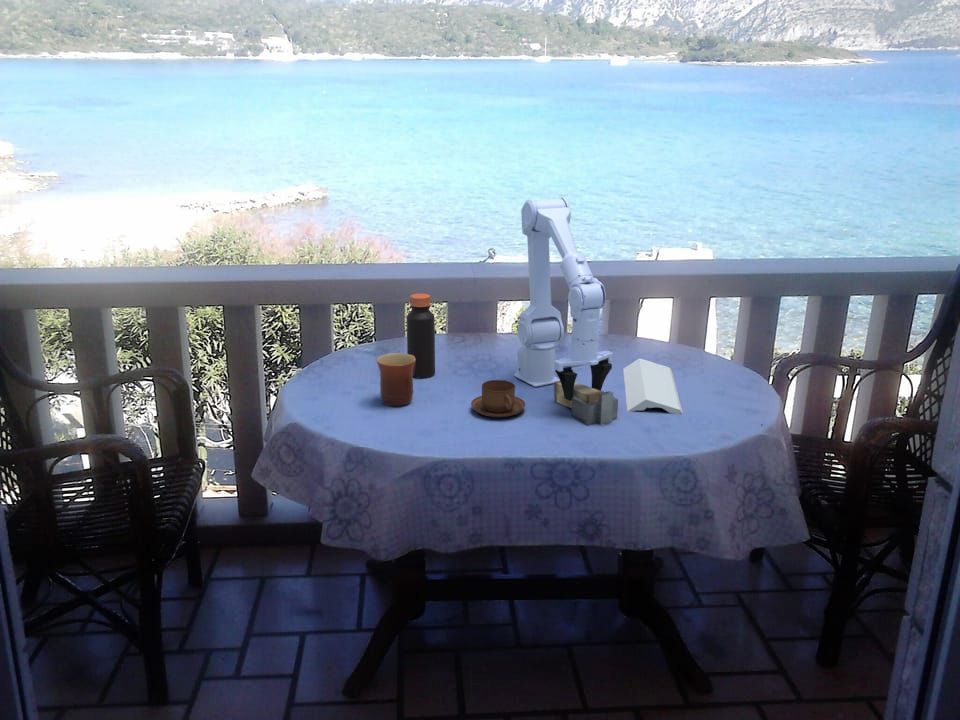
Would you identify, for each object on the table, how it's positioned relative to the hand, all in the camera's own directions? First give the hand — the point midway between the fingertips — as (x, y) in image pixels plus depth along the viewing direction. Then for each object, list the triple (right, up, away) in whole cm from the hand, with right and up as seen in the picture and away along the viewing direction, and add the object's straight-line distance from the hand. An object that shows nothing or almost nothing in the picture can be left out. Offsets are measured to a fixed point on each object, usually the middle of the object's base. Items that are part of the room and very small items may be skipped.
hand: (582, 396), depth 196 cm
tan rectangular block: (-1, -2, +2) cm, 3 cm away
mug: (-41, -1, +7) cm, 41 cm away
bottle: (-37, +4, +23) cm, 44 cm away
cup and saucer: (-19, -4, +1) cm, 19 cm away
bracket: (+3, -5, -3) cm, 6 cm away
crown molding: (+18, 0, +14) cm, 23 cm away
